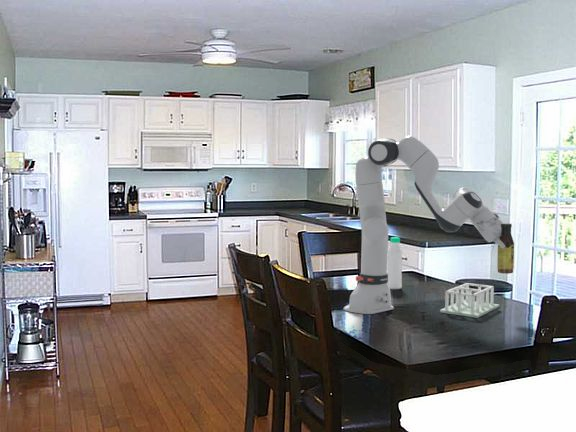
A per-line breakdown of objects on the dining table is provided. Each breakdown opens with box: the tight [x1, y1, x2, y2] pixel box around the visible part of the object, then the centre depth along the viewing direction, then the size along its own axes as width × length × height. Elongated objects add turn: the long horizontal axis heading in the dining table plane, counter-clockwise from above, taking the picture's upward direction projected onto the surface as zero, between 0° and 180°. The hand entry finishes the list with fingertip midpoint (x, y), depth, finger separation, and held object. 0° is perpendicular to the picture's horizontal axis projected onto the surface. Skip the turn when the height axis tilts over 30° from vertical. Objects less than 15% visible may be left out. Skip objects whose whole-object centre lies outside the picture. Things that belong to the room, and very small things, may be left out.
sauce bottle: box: [497, 222, 515, 275], centre depth 259 cm, size 7×6×20 cm
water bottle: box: [387, 236, 403, 290], centre depth 317 cm, size 7×7×25 cm
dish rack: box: [439, 282, 500, 319], centre depth 272 cm, size 25×16×9 cm, turn 143°
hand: (507, 246), depth 259 cm, fingers closed on sauce bottle, 6 cm apart
